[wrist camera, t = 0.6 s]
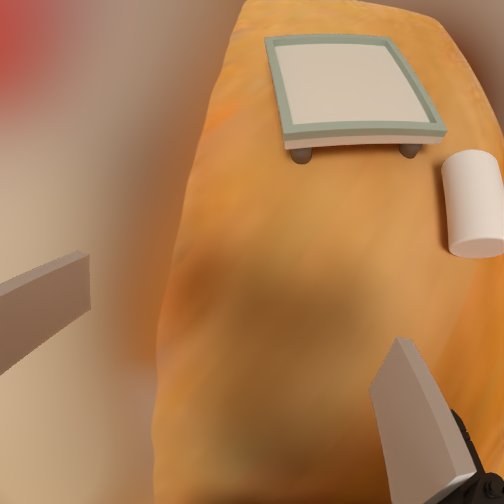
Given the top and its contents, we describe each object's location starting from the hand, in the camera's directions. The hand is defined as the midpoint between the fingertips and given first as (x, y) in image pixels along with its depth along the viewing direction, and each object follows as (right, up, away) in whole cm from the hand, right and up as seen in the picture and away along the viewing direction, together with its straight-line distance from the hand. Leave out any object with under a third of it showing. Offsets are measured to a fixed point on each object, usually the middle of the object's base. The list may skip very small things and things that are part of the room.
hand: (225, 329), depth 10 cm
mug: (+28, +7, +16) cm, 33 cm away
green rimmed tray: (+13, +22, +22) cm, 34 cm away
